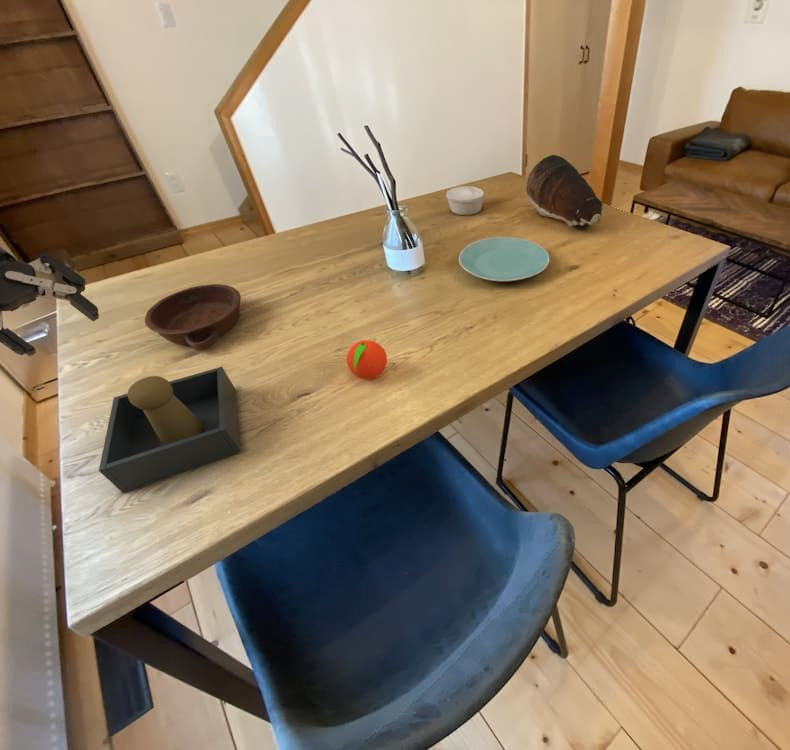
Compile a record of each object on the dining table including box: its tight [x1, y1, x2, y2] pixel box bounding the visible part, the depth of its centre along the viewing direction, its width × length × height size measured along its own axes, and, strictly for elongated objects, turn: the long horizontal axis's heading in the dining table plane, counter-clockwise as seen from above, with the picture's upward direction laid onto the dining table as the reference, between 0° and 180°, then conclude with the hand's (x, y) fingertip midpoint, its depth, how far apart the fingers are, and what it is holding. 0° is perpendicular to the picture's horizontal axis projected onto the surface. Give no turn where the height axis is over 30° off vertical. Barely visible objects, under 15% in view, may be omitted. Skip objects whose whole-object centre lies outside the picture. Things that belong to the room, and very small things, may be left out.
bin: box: [98, 366, 242, 494], centre depth 68 cm, size 16×16×6 cm
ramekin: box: [445, 185, 485, 216], centre depth 133 cm, size 11×11×5 cm
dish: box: [144, 283, 242, 351], centre depth 90 cm, size 18×22×5 cm
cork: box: [127, 375, 204, 446], centre depth 66 cm, size 6×6×11 cm
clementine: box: [346, 339, 388, 380], centre depth 77 cm, size 8×7×7 cm
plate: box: [458, 236, 550, 283], centre depth 107 cm, size 22×22×3 cm
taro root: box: [525, 154, 605, 227], centre depth 124 cm, size 15×15×25 cm
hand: (66, 334), depth 61 cm, fingers open, 8 cm apart
